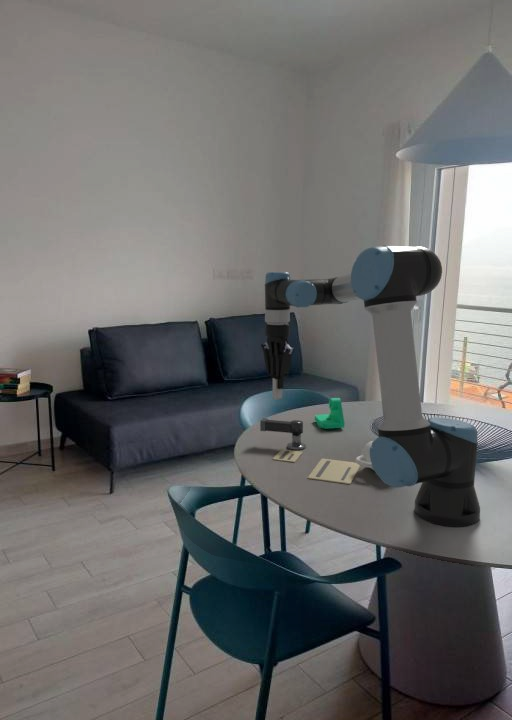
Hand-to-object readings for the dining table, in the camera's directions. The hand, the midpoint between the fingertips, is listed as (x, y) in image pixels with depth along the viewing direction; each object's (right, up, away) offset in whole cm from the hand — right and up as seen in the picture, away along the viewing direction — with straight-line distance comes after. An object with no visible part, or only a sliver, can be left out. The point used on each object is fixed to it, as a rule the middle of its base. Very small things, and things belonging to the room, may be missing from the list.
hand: (277, 398), depth 182 cm
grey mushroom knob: (+6, -16, +7) cm, 19 cm away
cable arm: (+2, -11, +8) cm, 14 cm away
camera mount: (+20, -12, +30) cm, 38 cm away
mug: (+28, -21, -14) cm, 37 cm away
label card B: (+16, -20, -13) cm, 29 cm away
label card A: (+3, -18, -1) cm, 18 cm away
